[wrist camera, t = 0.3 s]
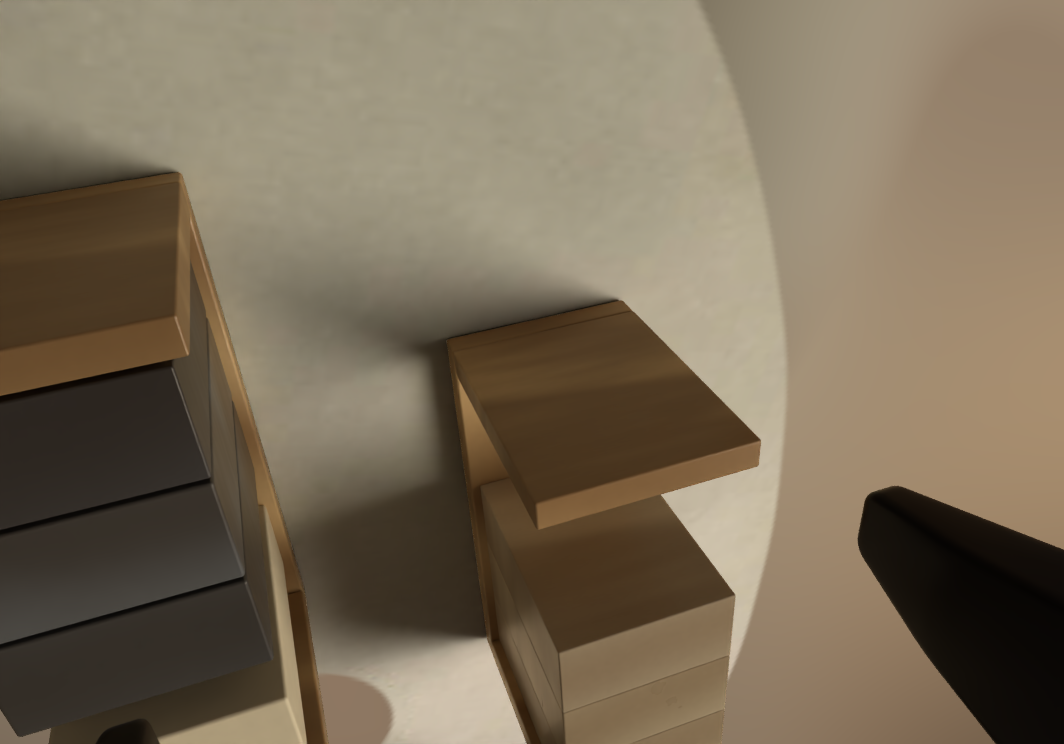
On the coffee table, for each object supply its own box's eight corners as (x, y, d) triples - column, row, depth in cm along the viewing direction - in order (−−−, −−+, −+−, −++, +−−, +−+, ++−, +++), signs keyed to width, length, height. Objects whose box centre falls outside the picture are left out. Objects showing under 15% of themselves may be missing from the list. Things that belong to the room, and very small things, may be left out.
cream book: (283, 563, 25) (309, 763, 20) (107, 611, 24) (82, 839, 19) (265, 502, 24) (288, 698, 18) (78, 551, 23) (41, 776, 17)
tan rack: (304, 589, 27) (339, 807, 21) (121, 641, 26) (99, 892, 20) (181, 171, 20) (176, 314, 13) (-87, 213, 18) (-232, 395, 12)
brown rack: (624, 595, 33) (727, 770, 26) (486, 639, 31) (561, 834, 25) (622, 298, 26) (762, 439, 19) (445, 338, 24) (534, 503, 18)
